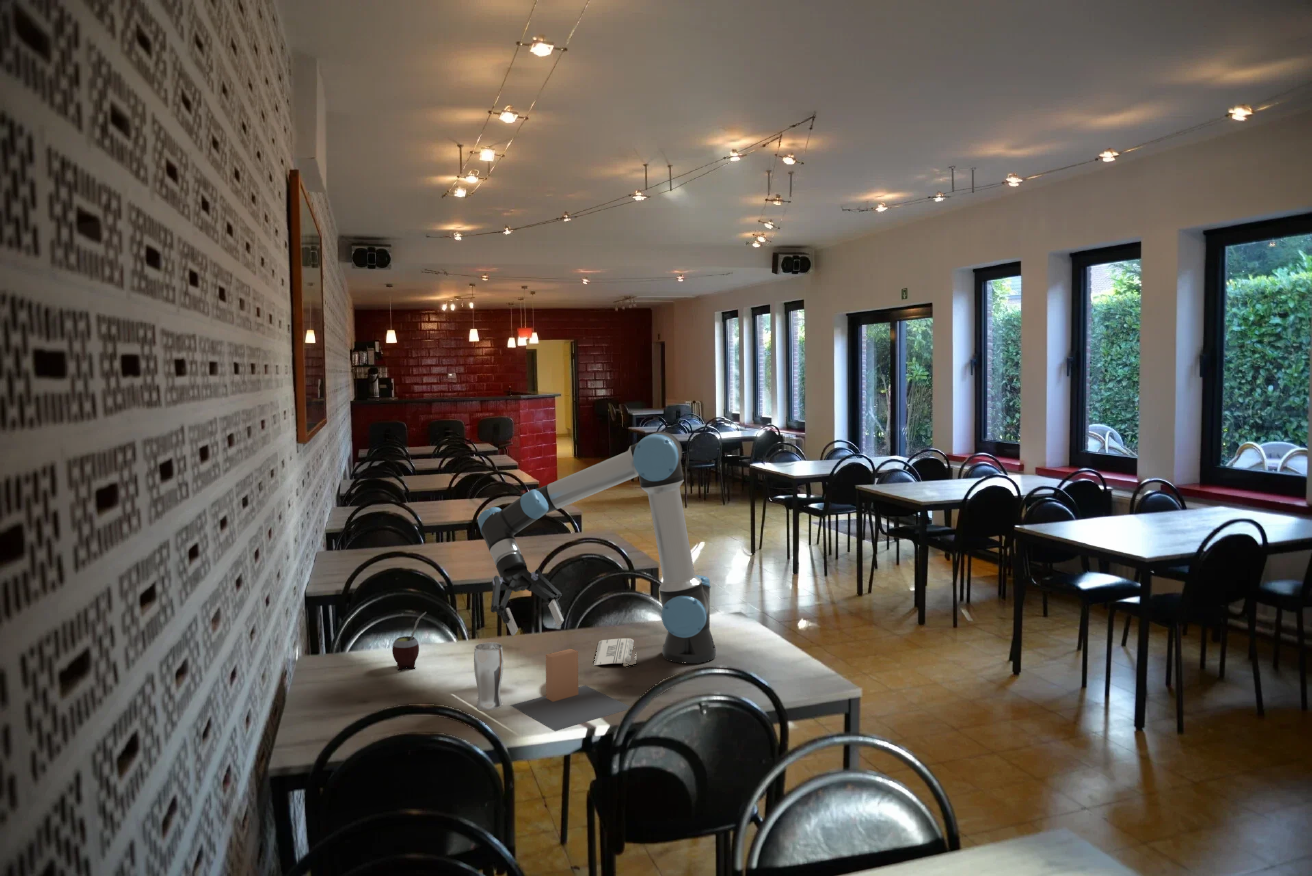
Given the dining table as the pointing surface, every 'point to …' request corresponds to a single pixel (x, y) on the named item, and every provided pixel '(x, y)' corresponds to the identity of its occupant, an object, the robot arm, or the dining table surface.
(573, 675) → the card deck box
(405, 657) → the mate gourd
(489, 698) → the beer glass
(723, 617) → the dining table surface
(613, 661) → the newspaper
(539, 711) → the rubber mat
